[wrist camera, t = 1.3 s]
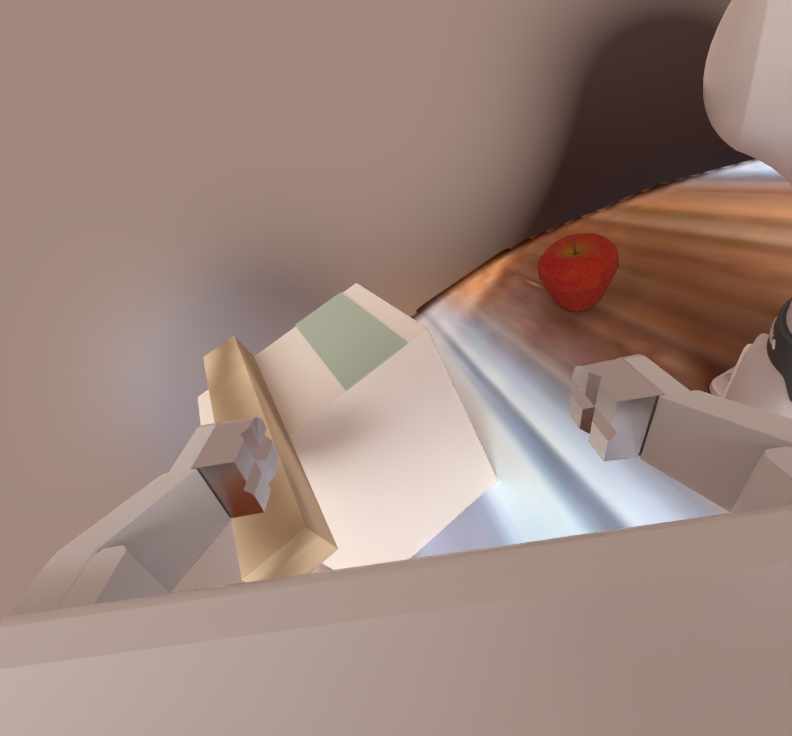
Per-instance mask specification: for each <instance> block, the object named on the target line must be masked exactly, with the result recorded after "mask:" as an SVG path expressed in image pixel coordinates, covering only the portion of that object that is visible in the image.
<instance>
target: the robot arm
mask: <svg viewBox="0 0 792 736" xmlns="http://www.w3.org/2000/svg"><path fill="white" fill-rule="evenodd" d="M703 94H704V102H705V108H706V111H707V114H708V117H709V120H710V122H711V124H712V126H713V128H714V129H715V131H716V132H717V133H718V134H719V136H720V137H721V138H722V139H723V140H724V141H725V142H726V143H727V144H728V145H730V146H731V147H732V148H734V149H735V150H737V151H740V152H743V153H745V154H747V155H749V156H752V157H754V158H756V159H758V160H760V161H762V162H763V163H765V164H767V165H768V166H770V167H772V168H773V169H775V170H776V171H777V172H778V173H780V174H781V175H782V176H783V177H785V179H786V180H787V181H788V182H789V183H790V184H791V185H792V0H732V1H731V3H730V4H729V6H728V8H727V10H726V12H725V14H724V16H723V18H722V20H721V22H720V24H719V26H718V28H717V30H716V33H715V36H714V38H713V41H712V43H711V47H710V50H709V53H708V57H707V61H706V66H705V72H704V80H703ZM572 380H573V381H574V382H575V383H576V385H577V386H576V388H575V389H574V390H573V391H572V392H571V393H570V403H569V405H570V410H571V415H572V417H573V419H574V421H575V423H576V424H577V426H578V427H579V429H581V430H583V431H585V432H587V433H589V434H590V437H589V442H590V444H591V445H592V446H593V448H594V449H595V450H596V452H597V453H598V455H599V456H600V457H601V459H602V460H603V461H610V460H618V459H627V458H635V457H641V458H640V459H642V460H644V461H645V462H647V463H649V464H650V465H652V466H654V467H655V468H657V469H659V470H660V471H662V472H664V473H665V474H667V475H669V476H670V477H672V478H674V479H675V480H677V481H679V482H681V483H682V484H684V485H686V486H687V487H689V488H691V489H692V490H694V491H696V492H697V493H699V494H701V495H702V496H704V497H706V498H707V499H709V500H711V501H712V502H714V503H716V504H717V505H719V506H721V507H722V508H724V509H726V510H727V511H729V512H730V513H728V514H721V515H714V516H707V517H700V518H693V519H686V520H679V521H672V522H665V523H658V524H651V525H644V526H637V527H630V528H623V529H616V530H609V531H602V532H595V533H588V534H581V535H574V536H567V537H560V538H553V539H547V540H540V541H533V542H526V543H519V544H512V545H505V546H498V547H491V548H484V549H477V550H470V551H463V552H456V553H448V554H441V555H434V556H427V557H420V558H413V559H406V560H399V561H392V562H385V563H378V564H371V565H364V566H357V567H350V568H343V569H336V570H329V571H322V572H315V573H308V574H301V575H293V576H286V577H279V578H272V579H265V580H258V581H251V582H245V583H238V584H230V585H224V586H216V587H209V588H203V589H195V590H189V591H181V592H174V593H172V592H171V591H172V590H173V589H174V587H175V586H176V585H177V584H178V583H179V582H180V581H181V579H182V578H183V577H184V576H185V575H186V573H187V572H188V571H189V570H190V569H191V567H192V566H193V565H194V564H195V563H196V562H197V560H198V559H199V558H200V557H201V556H202V554H203V553H204V552H205V551H206V549H207V548H208V547H209V546H210V545H211V544H212V543H213V541H214V540H215V539H216V537H218V535H219V534H220V533H221V532H222V531H223V529H224V528H225V527H226V526H227V525H228V523H229V522H230V521H231V519H230V518H236V517H241V516H247V515H252V514H258V513H264V512H265V508H266V505H267V502H268V499H269V495H270V492H271V489H270V487H269V485H268V483H269V482H270V481H271V480H272V479H273V478H274V477H275V475H276V471H277V468H278V454H277V450H276V447H275V445H274V442H273V441H272V440H271V439H269V438H267V437H266V436H264V435H265V432H266V429H267V428H266V426H265V424H264V422H263V420H262V419H261V418H258V417H253V418H246V419H239V420H232V421H225V422H220V423H212V424H205V425H202V426H200V427H198V428H197V429H196V431H195V432H194V434H193V436H192V437H191V438H190V440H189V442H188V443H187V445H186V447H185V448H184V450H183V451H182V453H181V454H180V456H179V458H178V459H177V461H176V462H175V464H174V465H173V467H172V469H171V470H170V472H169V473H166V474H162V475H161V476H159V477H158V478H156V479H155V480H154V481H152V482H151V483H150V484H148V485H147V486H146V487H144V488H143V489H142V490H140V491H139V492H138V493H136V494H135V495H134V496H132V497H131V498H130V499H128V500H127V501H125V502H124V503H123V504H121V505H120V506H119V507H117V508H116V509H115V510H113V511H112V512H111V513H109V514H108V515H106V516H105V517H104V518H102V519H101V520H100V521H98V522H97V523H96V524H94V525H93V526H92V527H90V528H89V529H88V530H86V531H85V532H84V533H82V534H81V535H80V536H78V537H77V538H75V539H74V540H73V541H71V542H70V543H69V544H67V545H66V546H65V547H63V548H62V549H61V550H60V551H58V552H57V553H55V554H54V556H53V557H52V558H51V559H50V561H49V562H48V563H47V565H46V566H45V567H44V568H43V570H42V571H41V572H40V574H39V575H38V576H37V577H36V579H35V580H34V581H33V583H32V584H31V585H30V586H29V588H28V589H27V590H26V591H25V593H24V594H23V595H22V597H21V598H20V599H19V600H18V602H17V603H16V604H15V606H14V607H13V608H12V609H11V611H10V612H9V613H8V615H7V616H6V617H0V736H792V298H791V299H790V300H788V301H787V302H786V303H785V304H784V306H783V307H782V309H781V310H780V313H779V314H778V316H776V318H775V319H774V322H773V324H772V326H771V329H770V333H769V334H765V333H762V334H760V335H759V336H758V337H757V338H756V339H755V341H754V343H753V344H747V345H746V346H745V348H744V349H743V351H742V353H741V355H740V358H739V360H738V362H737V364H736V366H735V367H733V368H731V369H730V370H728V371H726V372H724V373H723V374H721V375H719V376H718V377H716V378H715V379H713V380H712V382H711V384H710V386H709V390H710V392H711V394H709V393H705V392H702V391H699V390H695V391H690V390H688V389H687V388H686V387H684V386H683V385H682V384H681V383H679V382H678V381H677V380H675V379H674V378H673V377H672V376H670V375H669V374H668V373H666V372H665V371H664V370H662V369H661V368H660V367H659V366H657V365H656V364H655V363H653V362H652V361H651V360H649V359H648V358H647V357H646V356H643V355H640V354H636V355H631V356H626V357H620V358H617V359H613V360H607V361H601V362H595V363H589V364H583V365H577V366H576V367H575V369H574V371H573V378H572Z"/></svg>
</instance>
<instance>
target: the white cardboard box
mask: <svg viewBox="0 0 792 736" xmlns="http://www.w3.org/2000/svg"><path fill="white" fill-rule="evenodd" d="M295 326H296V327H295V328H293V329H292V330H290V331H289V332H288V333H286V334H285V335H283V336H282V337H281V338H279V339H278V340H276V341H275V342H274V343H272V344H271V345H270V346H268V347H267V348H265V349H264V350H263V351H261V352H260V353H258V354H257V355H256V356H254V358H255V360H256V362H257V365H258V367H259V369H260V371H261V374H262V376H263V378H264V381H265V383H266V385H267V387H268V390H269V392H270V394H271V396H272V399H273V401H274V403H275V406H276V408H277V410H278V412H279V415H280V417H281V419H282V422H283V424H284V426H285V428H286V431H287V433H288V435H289V438H290V440H291V442H292V444H293V447H294V449H295V451H296V454H297V456H298V458H299V460H300V463H301V465H302V467H303V469H304V472H305V474H306V476H307V479H308V481H309V483H310V485H311V488H312V490H313V492H314V495H315V497H316V499H317V501H318V504H319V506H320V508H321V511H322V513H323V515H324V517H325V520H326V522H327V524H328V527H329V529H330V531H331V533H332V536H333V538H334V540H335V542H336V545H337V547H338V550H337V551H335V552H334V553H333V554H332V555H331V556H330V557H328V558H327V559H326V560H325V561H324V562H323V564H325V565H326V566H328V567H330V568H332V569H333V570H336V569H343V568H350V567H357V566H364V565H371V564H378V563H385V562H392V561H399V560H406V559H410V558H411V557H412V556H413V555H414V554H416V553H417V552H418V551H419V550H420V549H421V548H422V547H423V546H425V545H426V544H427V543H428V542H429V541H430V540H431V539H432V538H434V537H435V536H436V535H437V534H438V533H439V532H440V531H441V530H443V529H444V528H445V527H446V526H447V525H448V524H449V523H450V522H452V521H453V520H454V519H455V518H456V517H457V516H458V515H459V514H460V513H462V512H463V511H464V510H465V509H466V508H467V507H468V506H469V505H471V504H472V503H473V502H474V501H475V500H476V499H477V498H478V497H480V496H481V495H482V494H483V493H484V492H485V491H486V490H487V489H489V488H490V487H491V486H492V485H493V484H494V483H495V482H496V481H498V479H497V477H496V475H495V473H494V471H493V469H492V466H491V464H490V462H489V460H488V458H487V456H486V453H485V451H484V449H483V447H482V445H481V443H480V440H479V438H478V436H477V434H476V432H475V430H474V427H473V425H472V423H471V421H470V419H469V417H468V414H467V412H466V410H465V408H464V406H463V404H462V401H461V399H460V397H459V395H458V393H457V391H456V389H455V386H454V384H453V382H452V380H451V378H450V376H449V373H448V371H447V369H446V367H445V365H444V363H443V360H442V358H441V356H440V354H439V352H438V350H437V347H436V345H435V343H434V341H433V339H432V337H431V334H430V332H429V330H428V328H426V327H425V326H423V325H422V324H420V323H418V322H417V321H415V320H414V319H412V318H411V317H409V316H407V315H406V314H404V313H403V312H401V311H400V310H398V309H396V308H395V307H393V306H392V305H390V304H389V303H387V302H385V301H384V300H382V299H381V298H379V297H378V296H376V295H374V294H373V293H371V292H370V291H368V290H367V289H365V288H363V287H362V286H360V285H359V284H357V283H356V284H354V285H353V286H351V287H350V288H349V289H347V290H346V291H345V292H343V293H341V292H340V293H339V294H337V295H336V296H335V297H333V298H332V299H331V300H329V301H328V302H326V303H325V304H324V305H322V306H321V307H319V308H318V309H317V310H315V311H314V312H313V313H311V314H310V315H308V316H307V317H305V318H304V319H303V320H301V321H300V322H298V323H297V324H296V325H295ZM198 404H199V414H200V421H201V426H202V425H205V424H212V423H214V417H213V411H212V405H211V400H210V394H209V389H208V390H207V391H206V392H204V393H203V394H202V395H200V396H199V397H198Z"/></svg>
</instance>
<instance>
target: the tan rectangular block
mask: <svg viewBox="0 0 792 736" xmlns="http://www.w3.org/2000/svg"><path fill="white" fill-rule="evenodd" d="M203 359H204V365H205V370H206V376H207V382H208V388H209V394H210V400H211V405H212V411H213V417H214V423H220V422H225V421H232V420H239V419H246V418H253V417H258V418H261V419H262V420H263V422H264V424H265V426H266V428H267V429H266V432H265V435H264V436H266V437H267V438H269V439H271V440H272V441H273V442H274V445H275V447H276V450H277V454H278V468H277V471H276V475H275V477H274V478H273V479H272V480H271V481H270V482H269V483H268V485H269V487H270V489H271V492H270V495H269V499H268V502H267V505H266V508H265V512H264V513H258V514H252V515H247V516H241V517H236V518H231V521H232V527H233V532H234V538H235V544H236V549H237V555H238V561H239V566H240V573H241V578H242V580H243V581H245V582H251V581H258V580H265V579H272V578H279V577H286V576H293V575H301V574H308V573H311V572H312V571H313V570H314V569H315V568H317V567H318V566H319V565H320V564H321V563H323V562H324V561H325V560H326V559H327V558H328V557H330V556H331V555H332V554H333V553H334V552H335V551H337V550H338V547H337V545H336V542H335V540H334V538H333V536H332V533H331V531H330V529H329V527H328V524H327V522H326V520H325V517H324V515H323V513H322V511H321V508H320V506H319V504H318V501H317V499H316V497H315V495H314V492H313V490H312V488H311V485H310V483H309V481H308V479H307V476H306V474H305V472H304V469H303V467H302V465H301V463H300V460H299V458H298V456H297V454H296V451H295V449H294V447H293V444H292V442H291V440H290V438H289V435H288V433H287V431H286V428H285V426H284V424H283V422H282V419H281V417H280V415H279V412H278V410H277V408H276V406H275V403H274V401H273V399H272V396H271V394H270V392H269V390H268V387H267V385H266V383H265V381H264V378H263V376H262V374H261V371H260V369H259V367H258V365H257V362H256V360H255V358H254V356H253V355H252V354H251V353H250V352H249V351H248V350H247V349H246V348H245V347H244V346H243V345H242V344H241V343H240V341H239V340H238V339H237V338H236V337H235V336H233V337H232V338H230V339H229V340H227V341H226V342H224V343H223V344H222V345H220V346H219V347H217V348H216V349H214V350H213V351H212V352H210V353H209V354H207V355H206V356H204V357H203Z"/></svg>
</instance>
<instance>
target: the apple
mask: <svg viewBox="0 0 792 736" xmlns="http://www.w3.org/2000/svg"><path fill="white" fill-rule="evenodd" d="M618 266H619V261H618V252H617V248H616V246H615V245H614V244H613V243H611V242H610V241H609V240H608V239H606V238H605V237H603V236H600V235H597V234H594V233H589V234H577V235H571V236H568V237H565V238H563V239H560V240H558V241H557V242H555V243H554V244H553V245H551V246H550V247H549V248H548V249H547V250H546V251H545V252H544V254H543V255H542V257H541V258H540V259H539V262H538V267H537V268H538V274H539V279H540V280H541V282H542V283H543V285H544V286H545V288H546V289H547V291H548V292H549V293H550V294H551V296H552V297H553V298H554V299H555V301H556V302H557V303H558V304H559V306H560V307H561V308H564V309H566V310H569V311H573V312H579V311H584V310H587V309H589V308H591V307H593V306H594V305H596V304H597V303H598V302H599V301H600V299H601V298H602V296H603V294H604V293H605V291H606V290H607V288H608V286H609V284H610V282H611V280H612V278H613V276H614V274H615V272H616V270H617V268H618Z"/></svg>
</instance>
